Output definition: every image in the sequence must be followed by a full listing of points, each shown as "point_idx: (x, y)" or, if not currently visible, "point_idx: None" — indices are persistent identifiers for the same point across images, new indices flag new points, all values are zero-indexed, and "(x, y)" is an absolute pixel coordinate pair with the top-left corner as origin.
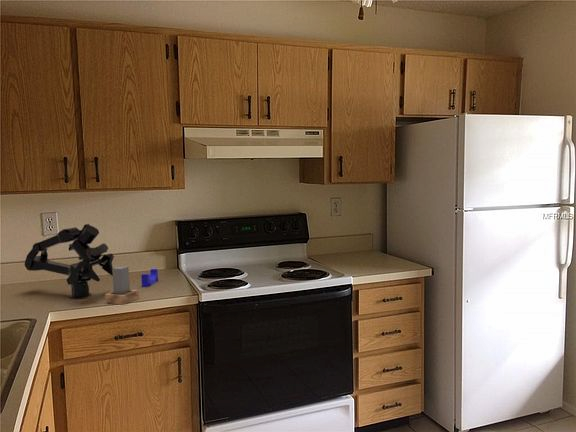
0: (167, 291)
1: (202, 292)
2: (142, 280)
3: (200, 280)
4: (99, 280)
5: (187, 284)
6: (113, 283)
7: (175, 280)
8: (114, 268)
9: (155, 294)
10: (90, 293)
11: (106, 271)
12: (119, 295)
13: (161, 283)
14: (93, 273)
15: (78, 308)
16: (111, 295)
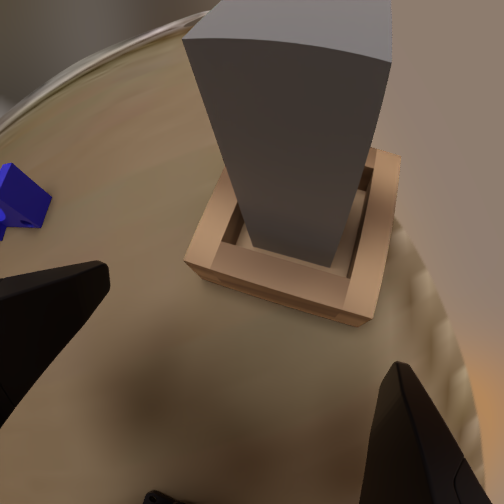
0: (152, 90)
1: (199, 16)
2: (20, 207)
3: (56, 76)
4: (402, 365)
5: (81, 81)
6: (350, 209)
7: (16, 141)
8: (381, 39)
9: (191, 110)
10: (145, 497)
11: (31, 383)
12: (390, 187)
13: (26, 168)
14: (468, 465)
15: (463, 436)
16: (386, 251)
